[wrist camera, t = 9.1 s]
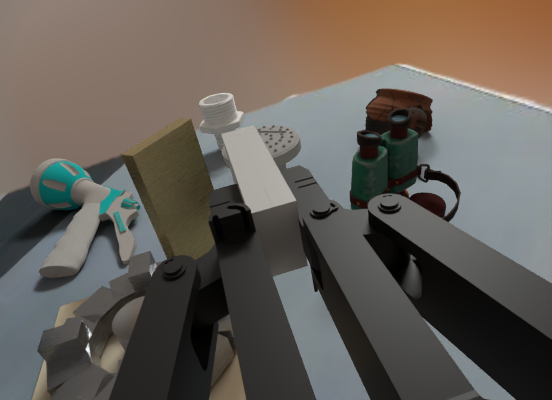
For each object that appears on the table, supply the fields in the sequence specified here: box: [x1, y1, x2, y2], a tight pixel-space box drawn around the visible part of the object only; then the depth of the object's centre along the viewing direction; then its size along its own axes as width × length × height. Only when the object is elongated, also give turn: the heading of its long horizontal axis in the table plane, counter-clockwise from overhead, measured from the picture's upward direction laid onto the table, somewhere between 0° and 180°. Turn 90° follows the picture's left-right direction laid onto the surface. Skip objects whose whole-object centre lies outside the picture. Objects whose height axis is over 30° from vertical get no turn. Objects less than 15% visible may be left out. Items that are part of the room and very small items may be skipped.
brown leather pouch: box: [362, 89, 433, 139], centre depth 53 cm, size 12×10×8 cm
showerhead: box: [222, 125, 301, 171], centre depth 48 cm, size 9×7×10 cm
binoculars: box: [350, 108, 461, 222], centre depth 37 cm, size 9×11×10 cm
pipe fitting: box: [199, 93, 244, 151], centre depth 61 cm, size 6×7×8 cm
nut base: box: [32, 296, 246, 400], centre depth 31 cm, size 18×16×4 cm
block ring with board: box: [37, 118, 236, 400], centre depth 29 cm, size 18×14×14 cm
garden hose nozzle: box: [30, 159, 140, 278], centre depth 50 cm, size 7×18×20 cm
